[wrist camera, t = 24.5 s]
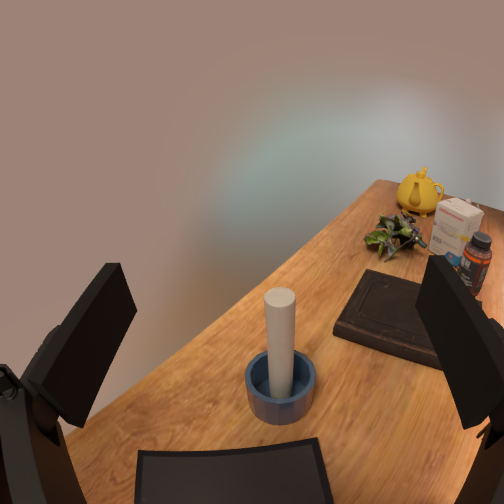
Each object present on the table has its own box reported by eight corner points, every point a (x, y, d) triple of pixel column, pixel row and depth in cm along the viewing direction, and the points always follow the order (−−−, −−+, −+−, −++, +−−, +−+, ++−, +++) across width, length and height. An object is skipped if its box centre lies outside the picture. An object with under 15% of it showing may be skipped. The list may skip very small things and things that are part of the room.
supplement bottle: (480, 286, 46) (497, 235, 40) (476, 302, 42) (496, 248, 36) (456, 276, 49) (470, 225, 44) (450, 291, 46) (467, 237, 40)
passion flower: (398, 269, 62) (436, 238, 54) (380, 285, 55) (424, 250, 47) (369, 230, 66) (404, 197, 57) (347, 240, 59) (387, 201, 50)
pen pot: (252, 429, 30) (248, 407, 27) (246, 378, 36) (242, 352, 33) (318, 419, 30) (323, 395, 27) (304, 370, 36) (306, 343, 34)
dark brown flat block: (364, 278, 52) (366, 268, 51) (477, 311, 40) (482, 301, 39) (331, 336, 41) (333, 325, 40) (473, 381, 29) (480, 371, 28)
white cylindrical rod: (271, 407, 32) (266, 308, 23) (268, 390, 34) (262, 288, 26) (293, 403, 32) (298, 304, 24) (289, 386, 34) (291, 285, 26)
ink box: (472, 257, 54) (485, 210, 48) (455, 268, 52) (468, 217, 46) (446, 241, 61) (455, 195, 55) (427, 249, 58) (436, 201, 52)
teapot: (438, 230, 66) (446, 188, 60) (387, 216, 74) (391, 175, 68) (444, 206, 79) (449, 171, 73) (402, 195, 87) (405, 161, 81)
